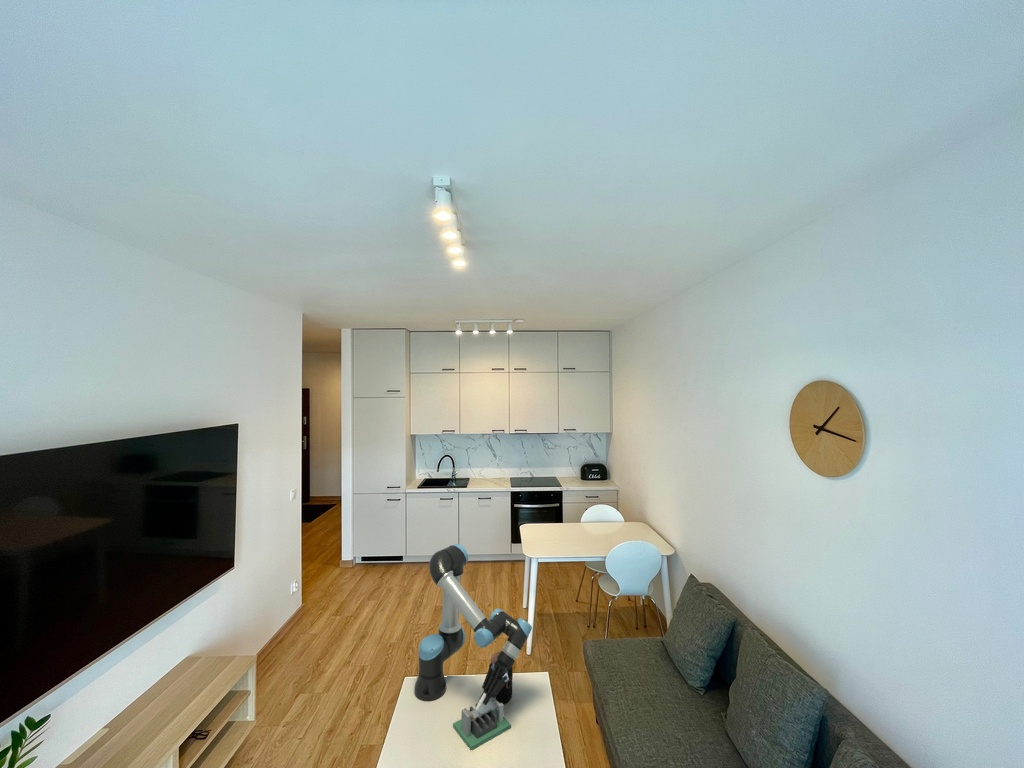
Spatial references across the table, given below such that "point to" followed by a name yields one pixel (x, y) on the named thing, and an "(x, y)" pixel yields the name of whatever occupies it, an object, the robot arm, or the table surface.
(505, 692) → the coffee jar
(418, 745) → the table surface
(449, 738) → the table surface
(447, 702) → the table surface
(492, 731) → the cpu board
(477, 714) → the silver flat bar
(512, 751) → the table surface
